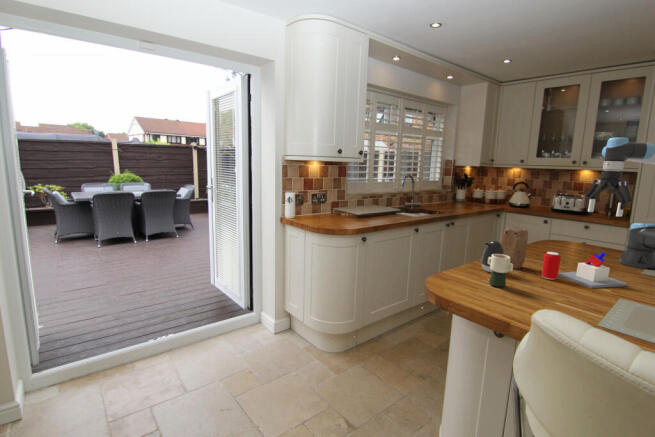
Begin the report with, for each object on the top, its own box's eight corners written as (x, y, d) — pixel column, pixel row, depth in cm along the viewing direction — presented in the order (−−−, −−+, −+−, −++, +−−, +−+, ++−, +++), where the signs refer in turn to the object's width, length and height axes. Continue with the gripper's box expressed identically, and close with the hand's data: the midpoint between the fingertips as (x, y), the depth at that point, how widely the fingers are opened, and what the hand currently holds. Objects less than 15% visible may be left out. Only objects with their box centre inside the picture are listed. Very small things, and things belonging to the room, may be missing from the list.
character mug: (514, 288, 136) (519, 258, 134) (504, 291, 132) (508, 260, 130) (490, 280, 145) (494, 251, 143) (480, 282, 142) (483, 253, 139)
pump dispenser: (475, 267, 162) (479, 237, 159) (495, 267, 163) (499, 238, 160) (487, 274, 152) (491, 243, 149) (508, 275, 153) (512, 243, 150)
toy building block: (593, 269, 147) (606, 256, 143) (584, 263, 150) (596, 250, 146) (597, 268, 149) (610, 255, 145) (588, 262, 152) (600, 249, 147)
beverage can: (555, 277, 152) (559, 252, 150) (558, 281, 147) (562, 255, 145) (540, 275, 155) (544, 250, 153) (542, 279, 149) (546, 253, 147)
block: (525, 268, 163) (531, 229, 160) (514, 270, 160) (520, 230, 157) (505, 262, 173) (510, 225, 170) (495, 263, 170) (500, 226, 167)
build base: (590, 273, 160) (593, 259, 159) (626, 285, 144) (630, 270, 143) (557, 275, 155) (559, 260, 154) (590, 288, 140) (593, 272, 139)
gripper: (581, 169, 169) (574, 210, 173) (635, 171, 145) (625, 218, 149) (592, 169, 170) (585, 210, 174) (648, 171, 147) (638, 218, 150)
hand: (604, 214), depth 161 cm, fingers open, 13 cm apart
